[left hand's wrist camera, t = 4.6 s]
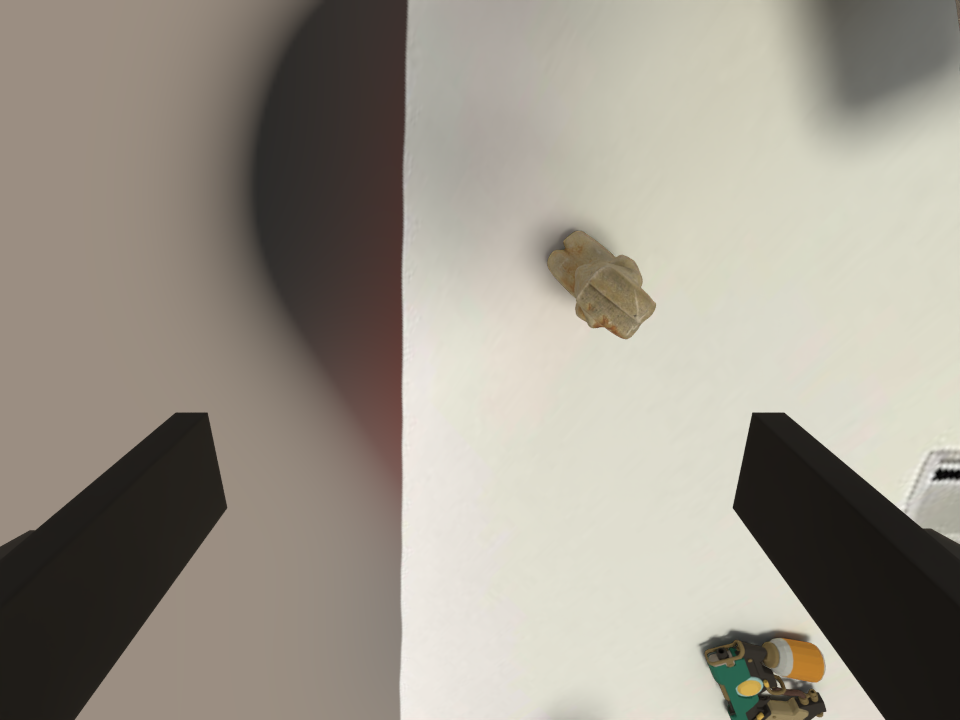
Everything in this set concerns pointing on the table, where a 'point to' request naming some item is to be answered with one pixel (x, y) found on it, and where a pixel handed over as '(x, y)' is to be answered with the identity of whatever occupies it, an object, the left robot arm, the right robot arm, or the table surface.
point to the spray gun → (768, 678)
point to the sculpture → (602, 285)
